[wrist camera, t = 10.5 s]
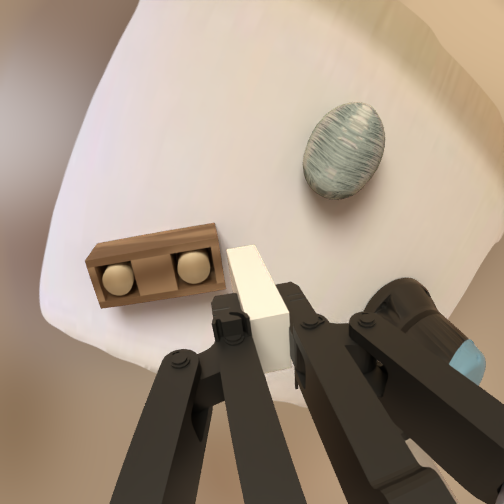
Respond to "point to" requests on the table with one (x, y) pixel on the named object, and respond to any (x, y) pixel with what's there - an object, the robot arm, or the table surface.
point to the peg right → (194, 265)
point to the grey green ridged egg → (344, 150)
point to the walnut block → (156, 265)
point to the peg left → (119, 278)
